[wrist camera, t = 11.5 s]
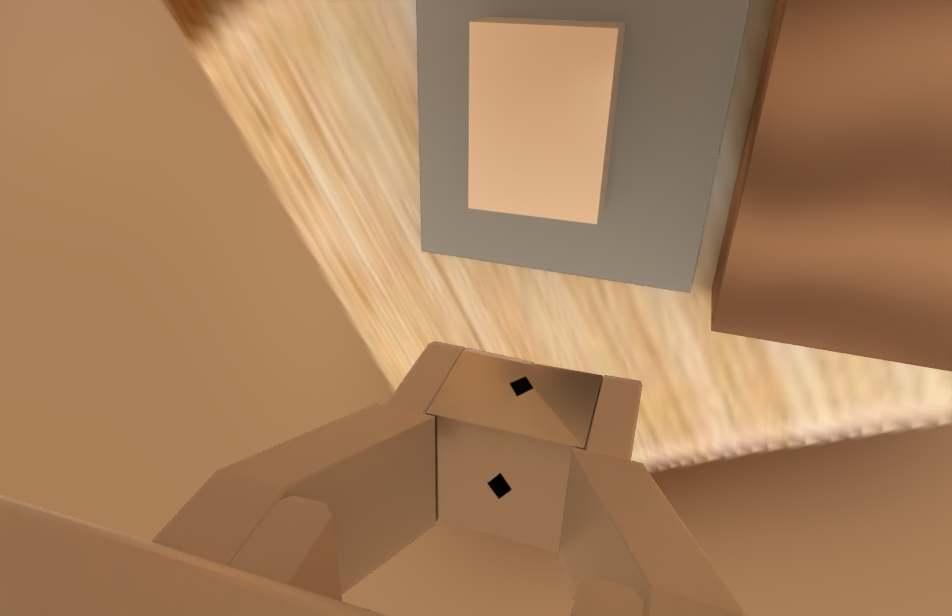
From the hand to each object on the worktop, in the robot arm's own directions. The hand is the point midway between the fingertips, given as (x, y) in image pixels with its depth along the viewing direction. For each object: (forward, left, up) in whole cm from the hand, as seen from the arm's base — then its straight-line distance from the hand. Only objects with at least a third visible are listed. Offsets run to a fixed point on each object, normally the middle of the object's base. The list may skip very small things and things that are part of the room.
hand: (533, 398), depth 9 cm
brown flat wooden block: (+1, +10, -23) cm, 25 cm away
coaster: (+1, -5, -21) cm, 22 cm away
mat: (+1, -4, -23) cm, 23 cm away
